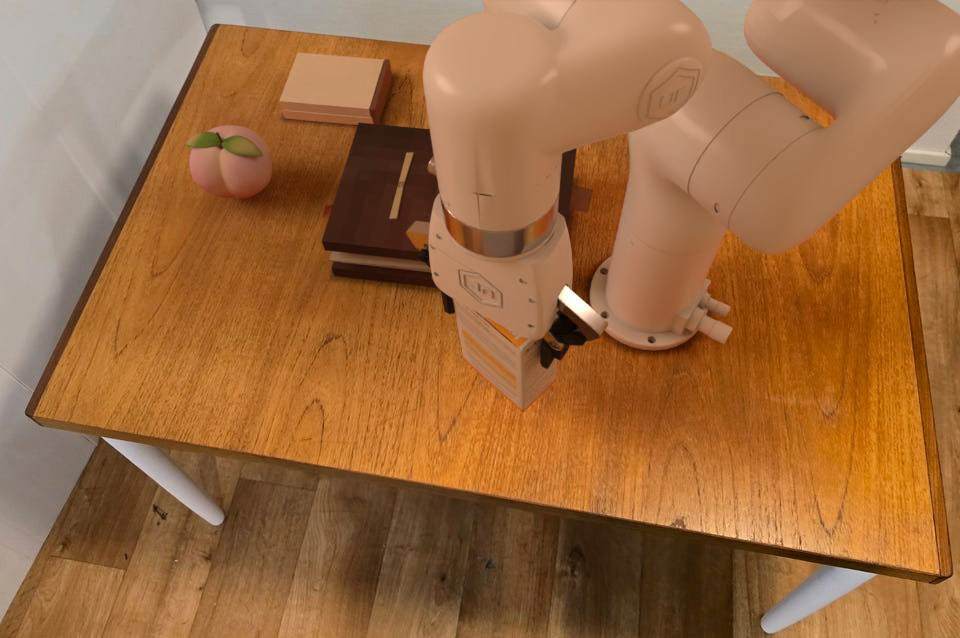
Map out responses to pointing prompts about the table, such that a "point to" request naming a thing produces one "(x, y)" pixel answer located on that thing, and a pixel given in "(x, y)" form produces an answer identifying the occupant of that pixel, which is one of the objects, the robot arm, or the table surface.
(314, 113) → the thin cream books
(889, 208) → the table surface
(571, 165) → the decorative book
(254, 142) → the decorative fruit
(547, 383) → the supplement box
